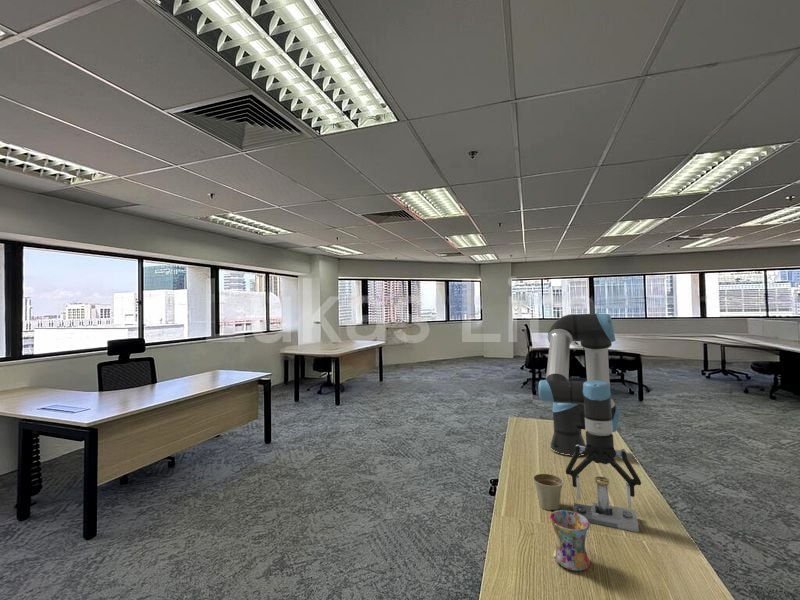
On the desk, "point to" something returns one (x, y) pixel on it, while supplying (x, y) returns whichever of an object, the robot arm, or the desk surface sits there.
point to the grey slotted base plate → (616, 519)
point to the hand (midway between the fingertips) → (603, 502)
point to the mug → (570, 539)
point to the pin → (602, 495)
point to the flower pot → (548, 490)
